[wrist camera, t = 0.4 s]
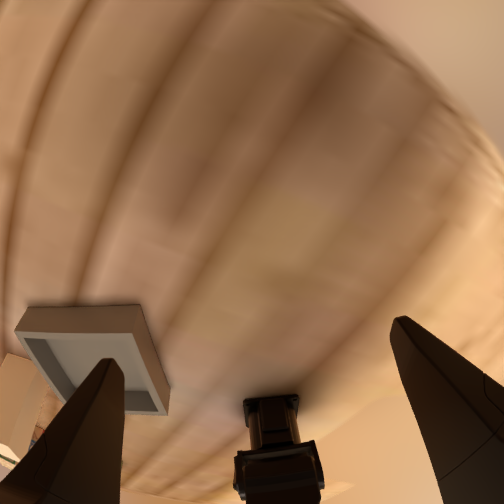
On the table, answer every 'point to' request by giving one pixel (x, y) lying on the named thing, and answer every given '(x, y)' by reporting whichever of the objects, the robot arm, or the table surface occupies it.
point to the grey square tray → (95, 351)
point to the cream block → (19, 404)
